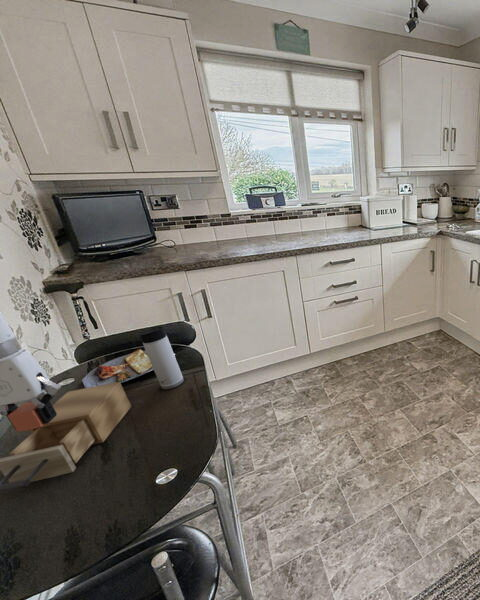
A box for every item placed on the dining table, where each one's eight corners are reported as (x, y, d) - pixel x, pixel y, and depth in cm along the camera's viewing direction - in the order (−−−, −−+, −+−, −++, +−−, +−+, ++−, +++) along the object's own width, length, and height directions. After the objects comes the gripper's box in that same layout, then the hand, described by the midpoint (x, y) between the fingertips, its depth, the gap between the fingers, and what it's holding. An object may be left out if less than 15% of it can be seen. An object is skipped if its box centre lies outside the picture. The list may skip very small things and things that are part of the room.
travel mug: (164, 392, 102) (140, 335, 94) (159, 385, 106) (136, 330, 99) (186, 382, 106) (165, 327, 99) (180, 375, 110) (160, 322, 103)
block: (56, 414, 76) (46, 398, 74) (41, 427, 72) (31, 410, 70) (33, 418, 75) (23, 403, 73) (17, 432, 71) (7, 416, 69)
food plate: (80, 376, 116) (76, 367, 114) (156, 348, 132) (153, 340, 130) (92, 402, 100) (87, 393, 99) (177, 367, 116) (173, 358, 115)
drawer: (51, 498, 67) (35, 473, 65) (-16, 515, 65) (-36, 490, 63) (106, 430, 86) (95, 409, 83) (55, 441, 83) (42, 420, 81)
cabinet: (103, 442, 83) (88, 414, 80) (44, 455, 80) (26, 427, 77) (131, 406, 96) (119, 381, 93) (81, 416, 94) (68, 391, 91)
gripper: (-80, 370, 61) (-25, 444, 68) (27, 351, 65) (70, 424, 71) (-41, 351, 68) (5, 420, 75) (54, 335, 72) (90, 403, 78)
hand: (36, 421), depth 73 cm, fingers closed on block, 4 cm apart
